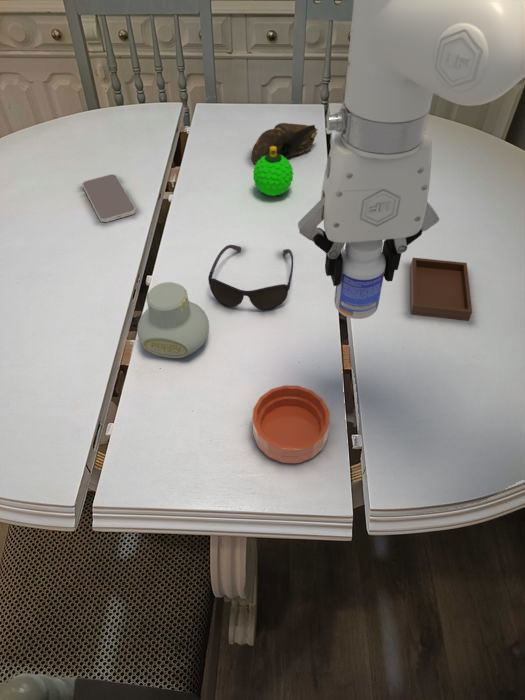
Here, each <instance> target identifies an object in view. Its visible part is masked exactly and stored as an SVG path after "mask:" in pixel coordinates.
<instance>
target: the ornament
mask: <svg viewBox="0 0 525 700" xmlns="http://www.w3.org/2000/svg"><path fill="white" fill-rule="evenodd" d="M272 151H275V152H272ZM293 170H294V168H293V167H292V164H291V163H290V161H289V159H288V158H284V156H282V155H279V154H277V147H276V146H271V147H270V153H269V154H267V155H265V156H263V157H261V159H260V160H258V162H257V164H255V165H254V168H253V171H252V173H253V174H252V177H253V182H254V185H255V186H256V188H257V189H258V190H259V191H260V193H263V194H264V195H266V196H270V197H271V196H273V197H275V196H276V197H277V196H280V195H282V194H285V192H286V191H288V189H289V188H290V187H291V185H292V182H293V180H294V171H293Z"/></svg>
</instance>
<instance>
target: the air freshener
mask: <svg viewBox="0 0 525 700" xmlns="http://www.w3.org/2000/svg"><path fill="white" fill-rule="evenodd" d="M146 303H147V309H146V310H145V311H143V313H142V314H141V316H140V318H139V320H138V322H137V327H136V330H137V331H136V334H137V338H138V341H139V342H140V345H141V346H142V347H143V348H144V349H145V350H146V351H148V352H149V353H151V354H153V355H156V356H159V357H163V358H169V359H170V358H172V359H178V358H179V359H180V358H185V357H187V356H189V355H191V354H193V353H195V352H196V351H197V350H199V349H200V348H201V347H202V346H203V344H205V341H206V340H207V338H208V335H209V332H210V321H209V318H208V316H207V313H206V312H205V310H203V308H202V307H201V306H199V305H198V304H196V303H195V302H192V301H190V300H189V297H188V292H187V289H186V288H185V287H184V286H183V285H181V284H179V283H176V282H171V281H167V282H161V283H157V285H154V286H153V287H152V288H150V290H149V291H148V292H147V294H146Z"/></svg>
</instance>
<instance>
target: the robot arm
mask: <svg viewBox="0 0 525 700" xmlns="http://www.w3.org/2000/svg"><path fill="white" fill-rule="evenodd" d="M351 13H352V14H351V24H350V25H351V26H350V37H349V47H348V56H347V66H346V76H345V77H346V79H345V90H344V98H343V99H344V100H343V101H341V108H339V112H335V113H334V114H327V116H326V130H327V131H329V132H331V131H335V132H336V133H335V134H334V137H333V139H332V142H331V145H330V149H329V153H328V156H327V157H328V158H327V161H326V166H325V169H324V175H323V181H322V186H321V194H320V200H319V201H318V202H316V204H315V205H314V206H313V207H312V208H311V209H309V211H308V212H307V213H306V214H305V215H304V216H303V217H302V218H301V219H300V220H299V221H298V222H297V228H298V232H299V234H300V235H301V236H303V237H304V238H306V239H308V241H311V242H313V243H314V245H315V246H316V247H318V248H319V249H320V250H321V251H323V252H324V253H325V263H324V265H325V266H324V271H325V275H326V276H327V277H330V279H331V282H332V284H333V287H336V286H339V284H340V282H341V274H342V266H343V258H342V254H341V252H342V251H343V248H344V246H345V245H346V243H348V242H362V241H374V240H382V241H383V245H382V253H383V255H384V257H385V260H386V266H385V272H384V277H383V279H384V280H385V281H386V282H393V279H394V275H395V271H398V270H399V266H400V262H401V258H402V254H404V253H406V251H408V246H409V245H411V244H412V243H413V242H414V241H416V240H417V239H419V238H420V237H421V236H422V234H423V232H427V231H428V230H429V229H430V228H432V227H433V226H435V225H436V224H437V223H438V222H439V221H440V217H439V215H438V214H437V211H436V210H435V209H434V208H433V206H432V204H430V203H429V201H428V198H429V191H430V184H431V183H430V182H431V173H432V171H431V170H432V158H433V157H432V155H433V146H432V145H433V144H432V140H431V138H430V137H429V136H428V134H427V133H426V129H427V125H428V121H429V115H430V111H431V105H432V101H433V96H434V95H436V96H438V97H440V98H441V99H443V100H446V101H448V102H451V103H454V104H456V105H460V106H467V107H474V106H481V105H485V104H488V103H491V102H493V101H496V100H497V99H499V98H501V97H502V96H503V95H505V94H506V93H507V92H509V91H510V90H511V89H513V88H514V87H515V86H516V85H517V84H518V83H519V82H521V81H522V80H523V79H524V78H525V0H353V3H352V12H351ZM322 222H323V229H322V228H321V227H318V226H319V225H320V224H321V223H322Z"/></svg>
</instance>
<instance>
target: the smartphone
mask: <svg viewBox="0 0 525 700" xmlns="http://www.w3.org/2000/svg"><path fill="white" fill-rule="evenodd" d="M82 188H83V190H84V193H85V194H86V196H87V198H88V200H89V202H90V204H91V206H92V207H93V210H94V212H95V214H96V216H97V217H98V220H99V221H100V222H101V223H109V222H112V221H115V220H119V219H122V218H125V217H129V216H132V215H135V214H136V211H137V209H136V206H135V205H134V203H133V201H132V200H131V198H130V196H129V195H128V193H127V191H126V190H125V188H124V187H123V185H122V183H121V181H120V179H119V178H118V176H117V175H116V174H113V173H112V174H111V173H110V174H107V175H103V176H100V177H99V176H98V177H96V178H92V179H88V180H84V181H83V182H82Z"/></svg>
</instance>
